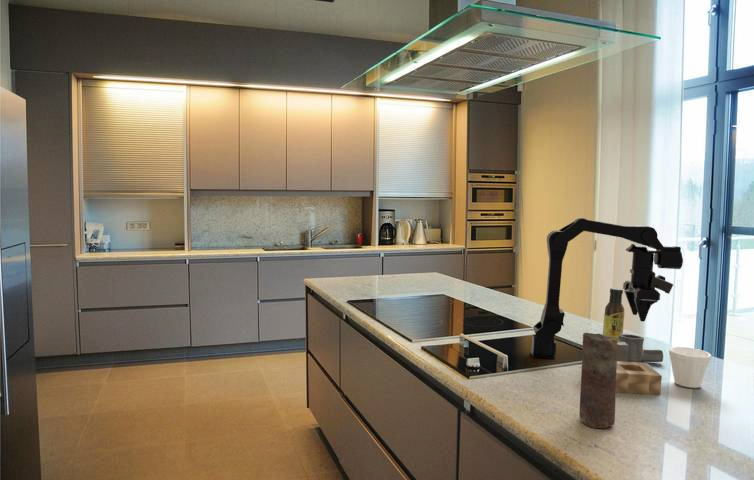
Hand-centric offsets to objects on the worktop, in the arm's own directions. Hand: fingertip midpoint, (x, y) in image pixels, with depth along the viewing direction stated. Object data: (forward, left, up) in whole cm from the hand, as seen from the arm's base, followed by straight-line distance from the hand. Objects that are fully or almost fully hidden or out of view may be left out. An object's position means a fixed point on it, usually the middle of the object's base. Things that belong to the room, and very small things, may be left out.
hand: (638, 318), depth 165 cm
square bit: (-7, -8, -14) cm, 18 cm away
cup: (+8, -18, -14) cm, 24 cm away
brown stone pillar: (-24, -49, -14) cm, 57 cm away
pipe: (+2, +2, -14) cm, 15 cm away
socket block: (-8, -22, -14) cm, 28 cm away
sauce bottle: (-1, +19, -14) cm, 24 cm away
